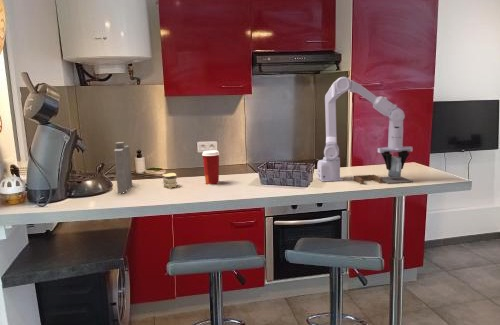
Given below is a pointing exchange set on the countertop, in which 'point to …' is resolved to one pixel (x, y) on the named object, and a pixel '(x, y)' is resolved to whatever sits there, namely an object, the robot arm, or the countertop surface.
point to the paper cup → (211, 166)
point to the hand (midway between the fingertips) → (394, 169)
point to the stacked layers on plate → (169, 180)
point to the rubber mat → (395, 180)
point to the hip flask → (122, 167)
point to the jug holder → (367, 178)
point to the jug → (395, 167)
